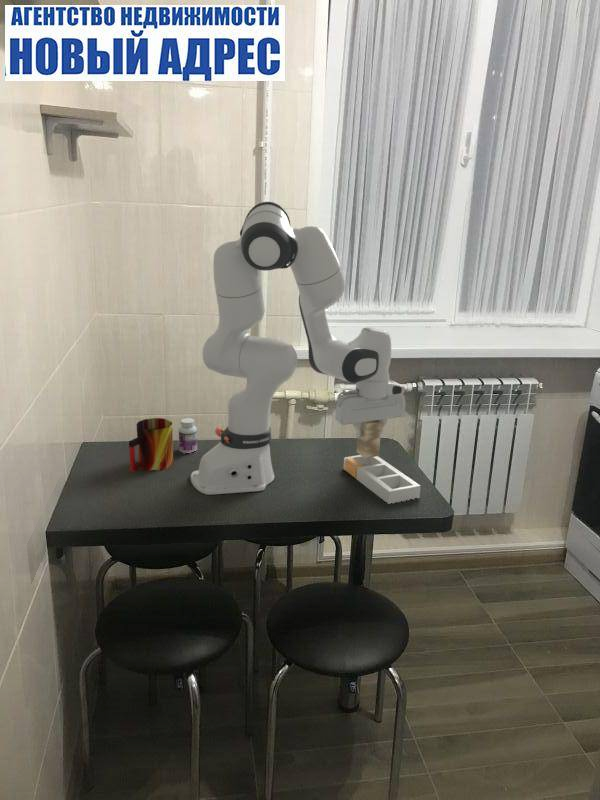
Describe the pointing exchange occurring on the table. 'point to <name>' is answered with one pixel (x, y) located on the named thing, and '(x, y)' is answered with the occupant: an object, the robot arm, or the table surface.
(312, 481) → the table surface
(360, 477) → the rack
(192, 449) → the pill bottle
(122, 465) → the table surface
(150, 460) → the mug
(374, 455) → the wooden block
